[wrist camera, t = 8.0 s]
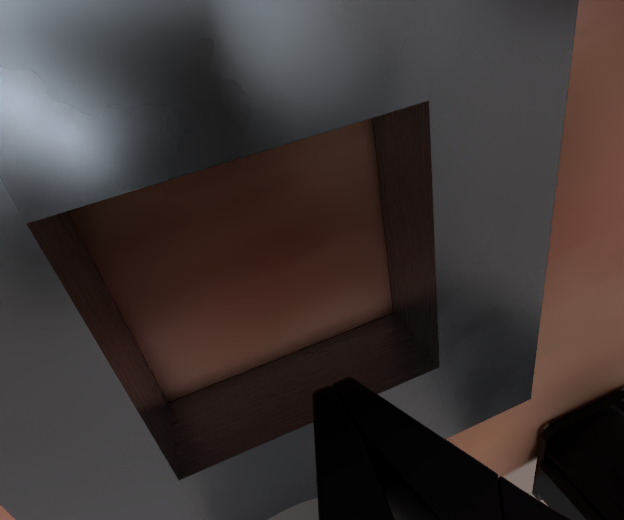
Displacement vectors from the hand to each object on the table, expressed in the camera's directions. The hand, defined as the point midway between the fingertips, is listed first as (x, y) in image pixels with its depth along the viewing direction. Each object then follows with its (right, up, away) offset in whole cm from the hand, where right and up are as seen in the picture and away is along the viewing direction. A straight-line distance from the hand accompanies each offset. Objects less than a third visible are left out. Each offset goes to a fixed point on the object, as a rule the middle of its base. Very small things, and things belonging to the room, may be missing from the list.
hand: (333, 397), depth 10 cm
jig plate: (-2, +3, +5) cm, 6 cm away
